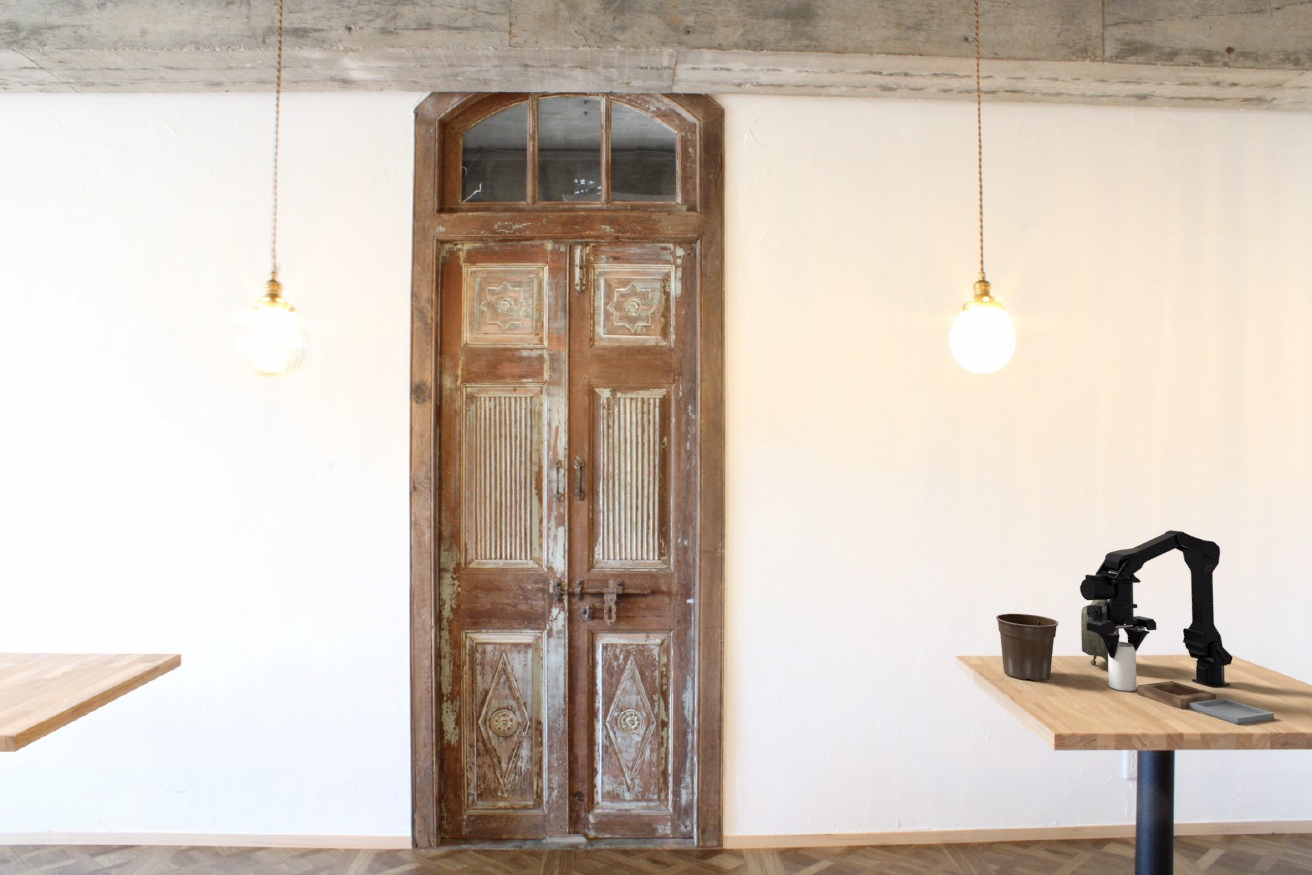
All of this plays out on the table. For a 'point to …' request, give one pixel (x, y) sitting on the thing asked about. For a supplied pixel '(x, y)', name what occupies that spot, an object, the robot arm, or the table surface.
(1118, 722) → the table surface
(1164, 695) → the wooden square frame
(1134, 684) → the can
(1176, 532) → the robot arm
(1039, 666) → the plant pot
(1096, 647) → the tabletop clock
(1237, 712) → the tray
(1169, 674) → the table surface
